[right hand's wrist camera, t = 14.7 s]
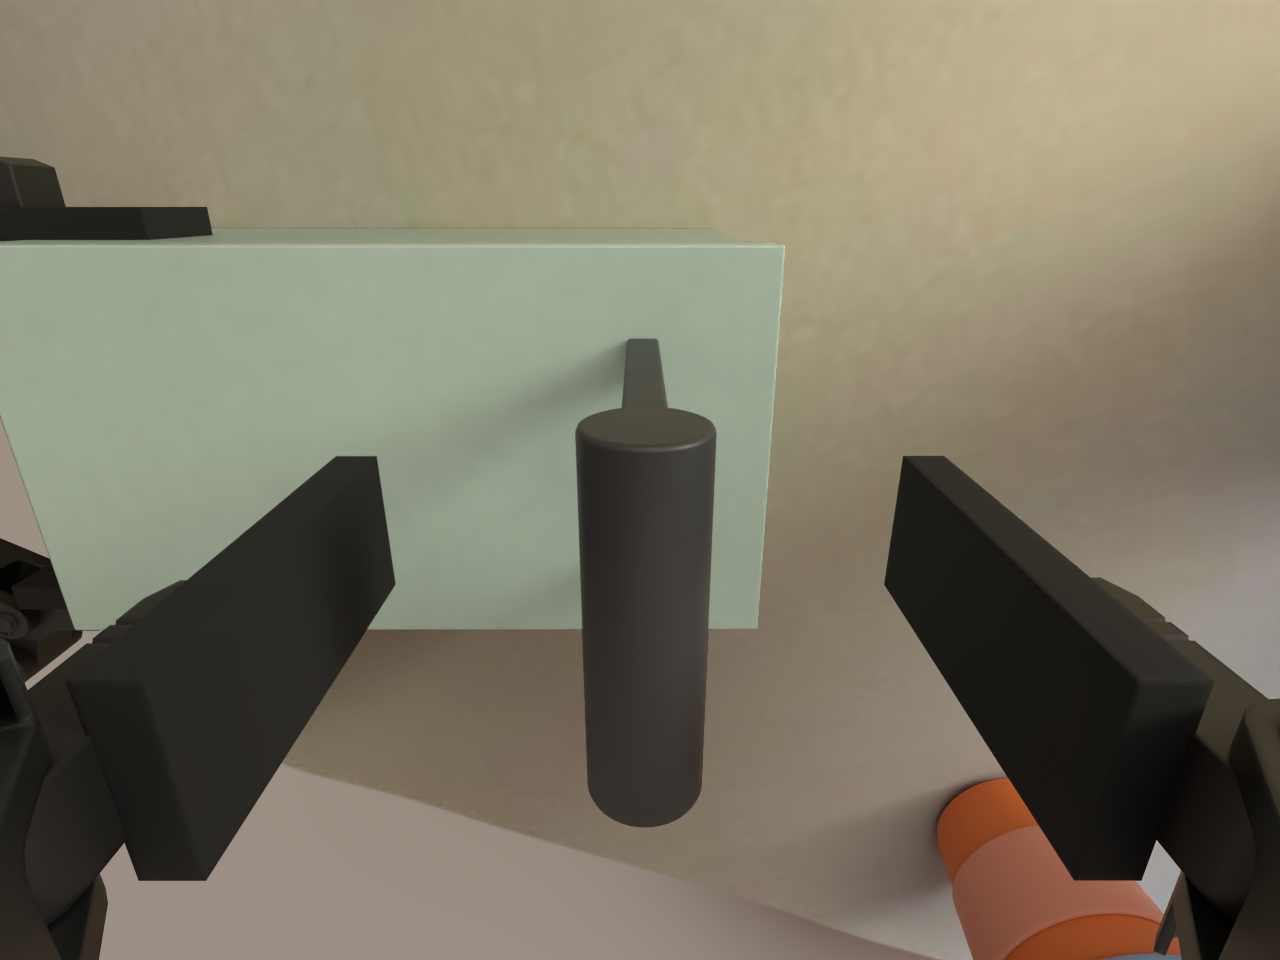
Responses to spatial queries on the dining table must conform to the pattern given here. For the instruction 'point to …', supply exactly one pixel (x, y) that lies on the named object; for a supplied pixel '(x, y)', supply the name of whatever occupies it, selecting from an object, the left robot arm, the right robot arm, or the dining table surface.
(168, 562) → the lid
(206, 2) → the dining table surface
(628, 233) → the chest
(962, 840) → the cup with straw
